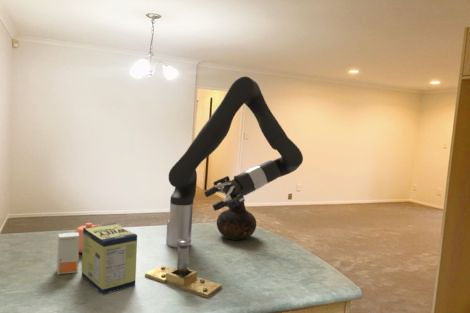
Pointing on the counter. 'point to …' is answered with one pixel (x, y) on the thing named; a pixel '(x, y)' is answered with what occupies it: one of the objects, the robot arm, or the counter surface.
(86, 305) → the counter surface
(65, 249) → the skincare box
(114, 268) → the protein box
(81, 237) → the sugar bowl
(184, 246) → the hinge pin
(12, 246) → the counter surface
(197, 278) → the hinge leaves
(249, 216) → the glass bottle
